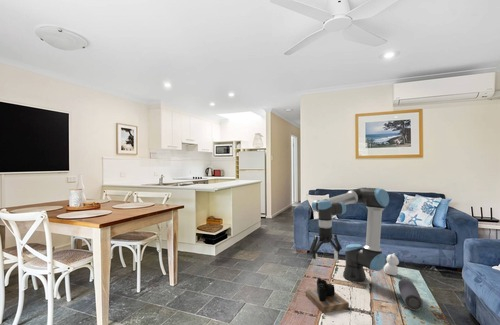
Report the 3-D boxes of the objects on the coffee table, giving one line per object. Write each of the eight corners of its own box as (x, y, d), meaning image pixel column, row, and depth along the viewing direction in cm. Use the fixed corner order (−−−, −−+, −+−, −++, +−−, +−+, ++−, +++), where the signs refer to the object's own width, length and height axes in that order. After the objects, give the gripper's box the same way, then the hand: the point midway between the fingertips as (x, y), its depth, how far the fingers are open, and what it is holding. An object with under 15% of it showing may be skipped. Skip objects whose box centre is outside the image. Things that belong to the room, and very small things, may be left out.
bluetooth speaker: (397, 292, 159) (396, 276, 160) (414, 295, 156) (414, 278, 156) (403, 310, 138) (403, 292, 139) (423, 314, 135) (423, 295, 135)
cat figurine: (396, 278, 181) (396, 256, 181) (378, 272, 190) (378, 252, 191) (401, 274, 187) (401, 254, 187) (383, 269, 196) (383, 249, 197)
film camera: (336, 302, 141) (336, 286, 141) (318, 301, 142) (318, 285, 143) (332, 290, 156) (332, 275, 156) (315, 289, 157) (315, 274, 158)
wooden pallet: (328, 291, 160) (328, 287, 160) (348, 308, 141) (348, 302, 141) (305, 295, 156) (305, 290, 156) (323, 312, 137) (323, 307, 137)
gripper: (339, 224, 157) (340, 258, 156) (303, 227, 150) (303, 263, 150) (347, 226, 150) (348, 262, 149) (309, 229, 143) (310, 267, 142)
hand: (326, 263), depth 149 cm, fingers open, 13 cm apart
